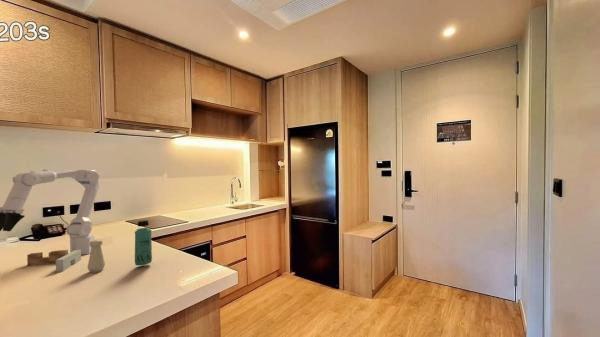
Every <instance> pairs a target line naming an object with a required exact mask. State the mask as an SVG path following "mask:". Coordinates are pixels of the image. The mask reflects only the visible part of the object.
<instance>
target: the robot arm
mask: <svg viewBox="0 0 600 337" xmlns="http://www.w3.org/2000/svg"><path fill="white" fill-rule="evenodd" d="M64 178H71V179H73V180H75V181H76V182H77V183H79V184H80V185H81V186H83V187H84V192H83V195H82V199H81V201H80V204H79V206H78V210H77V213H76V215H75V217H74V218H73V219H72V220H71V221H70V223H69V225H67V227H66V229H65V232H66V234H67V235H68V237H69V253H70V252H72V251H74V250H81V256H82V255H90V252H91V247H90V242H91V241H93V240H95V236H94V235H90V233H91V232H92V224H93V222H92V221H91V219H90V216H91V213H92V211H93V207H94V204H95V201H96V197H97V194H98V191H99V188H100V184H99V179H100V174H99V173H98V171H97V170H95V169H70V170H69V169H68V170H62V171H56V172H55V171H53V170H50V169H47V168H45V169H42V170H40V171H34V170H30V171H29V172H21V173H18V174H16V175H15V176H13V177H12V183H13V185H12V187H11V189H10V191H9V193H8V195H7V197H6V199H5V201H4V203H3V205H2V206H0V232H1V231H2V232H11V231H12V230H13V229H14V228H15V226H16V225H17V224H18V223H19V222H20V221H21V220H22V219H23V218H25V216H26V215H25V214H23V213H24V211H25V209H24V206H25V203H26V201H27V198H28V197H29V195H30V193H31V191H32V187H33V186H36V185H40V184H47V183H52V182H54V181H56V180H58V179H64Z"/></svg>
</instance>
